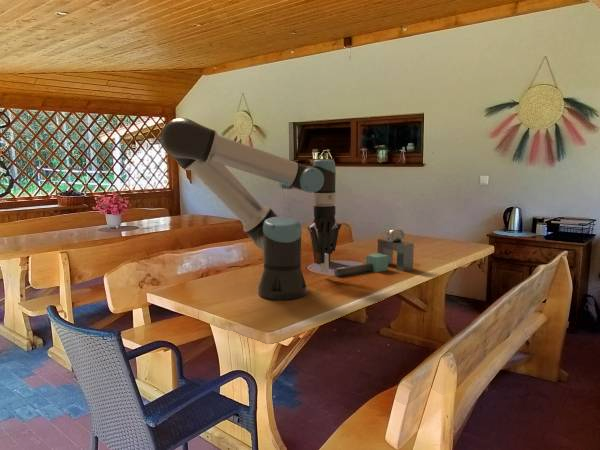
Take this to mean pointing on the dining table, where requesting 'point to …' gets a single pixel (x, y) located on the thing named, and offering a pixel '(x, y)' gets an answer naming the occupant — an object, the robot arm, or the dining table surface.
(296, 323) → the dining table surface
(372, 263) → the mallet
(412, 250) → the housing
